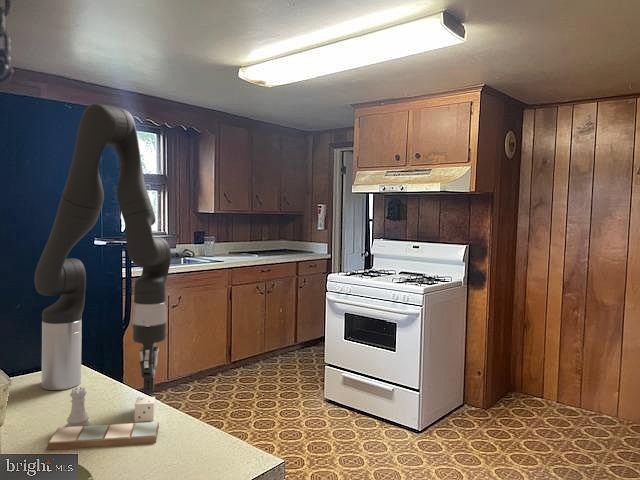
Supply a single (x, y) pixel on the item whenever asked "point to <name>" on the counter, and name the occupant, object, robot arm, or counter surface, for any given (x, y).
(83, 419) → the rook chess piece
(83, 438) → the board
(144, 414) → the die
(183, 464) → the counter surface
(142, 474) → the counter surface
